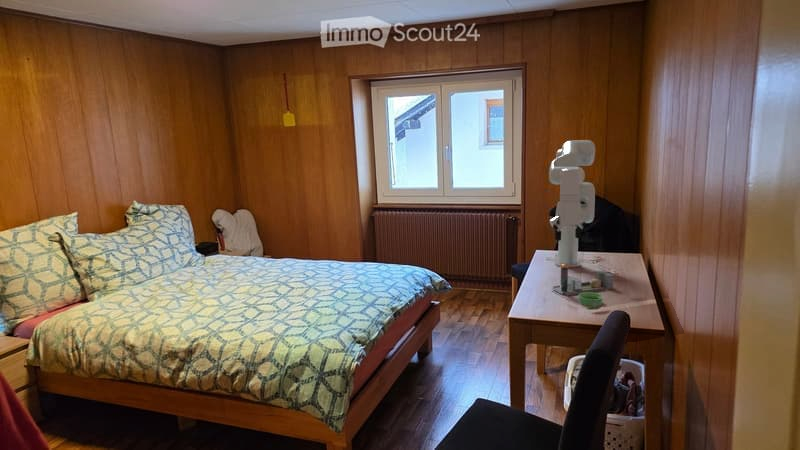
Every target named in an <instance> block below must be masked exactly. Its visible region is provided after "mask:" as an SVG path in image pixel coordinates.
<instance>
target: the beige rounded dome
mask: <svg viewBox="0 0 800 450" xmlns="http://www.w3.org/2000/svg"><path fill="white" fill-rule="evenodd" d="M590 283H591V287H592V288H601V280H600V279H595V278H592V279H591V281H590Z"/></svg>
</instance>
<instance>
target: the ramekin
mask: <svg viewBox="0 0 800 450" xmlns="http://www.w3.org/2000/svg"><path fill="white" fill-rule="evenodd" d="M603 298H604V297H603V295H602V294H599V293H592V292H584V293H580V294H579V295H578V301H579V303H580V304H581V305H583V306H587V307H588V306H589V307H588V308H586V310H591V311H592V310H599V309H601V308H602V306H601V305H602V303H603ZM583 306H581V308H583V309H584V307H583Z"/></svg>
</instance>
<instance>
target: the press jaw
mask: <svg viewBox="0 0 800 450" xmlns="http://www.w3.org/2000/svg"><path fill="white" fill-rule="evenodd" d="M559 267H560V287H557V288H553V287H552V288H553V289H552V291H554V292H556V293H559V294H561V295H564V294H565V292H572V291H579V290H581V282H583V281H582V280H581V279H580V278H577V277H575V276H573V275H569V268H570V267H569V264H566V263H562V264H560V266H559Z"/></svg>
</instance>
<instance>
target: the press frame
mask: <svg viewBox="0 0 800 450" xmlns="http://www.w3.org/2000/svg"><path fill="white" fill-rule="evenodd" d="M614 278H615V276H614V274H612V273H610V272H607V271H605V270H602V269H601V270H595V278H594V279H600V280H601V288H592V287H591V281H584V282H583V281H582V282H581V290H579V291H572V292H565V294H563V295H564V296H566V297H575V296H579V294H580V293H584V292H592V293H597V294H599V293H604V292H611V291H618V289H616V288H614V283H615V282H614ZM560 285H561V284H560ZM560 285H553V287H551V289H552V290H551V292H552V293H553V294H556V295H558V296H559V297H561V298H563V299H564V300H565V299H566V300H567V301H569V299H568V298H566V297H564V296H562V295H560V293H559V294H558V292H556V291H554V290H553V288H557V287H560Z"/></svg>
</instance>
